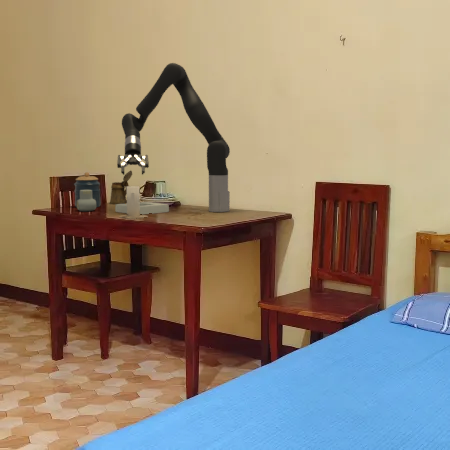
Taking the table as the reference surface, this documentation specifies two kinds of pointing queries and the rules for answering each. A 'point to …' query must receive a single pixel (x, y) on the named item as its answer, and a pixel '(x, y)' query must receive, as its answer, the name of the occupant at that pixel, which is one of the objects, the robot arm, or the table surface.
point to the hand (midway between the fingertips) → (133, 173)
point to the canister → (87, 187)
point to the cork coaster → (133, 217)
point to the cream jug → (133, 201)
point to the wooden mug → (120, 190)
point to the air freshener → (86, 201)
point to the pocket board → (145, 208)
